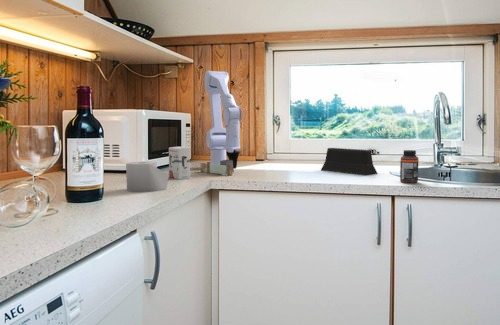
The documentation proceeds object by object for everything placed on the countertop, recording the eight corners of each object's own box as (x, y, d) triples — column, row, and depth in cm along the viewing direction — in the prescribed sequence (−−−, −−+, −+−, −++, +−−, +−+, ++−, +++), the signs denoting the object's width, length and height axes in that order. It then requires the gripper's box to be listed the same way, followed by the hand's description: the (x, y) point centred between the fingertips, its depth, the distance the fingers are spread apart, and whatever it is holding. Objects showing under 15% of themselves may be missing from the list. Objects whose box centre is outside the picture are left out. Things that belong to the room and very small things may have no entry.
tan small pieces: (200, 171, 182) (200, 161, 182) (202, 171, 183) (202, 161, 183) (229, 175, 170) (229, 164, 169) (232, 175, 171) (232, 164, 170)
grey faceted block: (216, 173, 176) (215, 161, 176) (227, 171, 180) (226, 159, 180) (222, 174, 174) (221, 162, 173) (233, 171, 177) (232, 160, 177)
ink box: (168, 177, 165) (167, 146, 164) (179, 176, 168) (179, 146, 167) (179, 179, 159) (178, 148, 157) (190, 178, 161) (190, 147, 160)
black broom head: (378, 174, 175) (378, 150, 174) (365, 176, 170) (365, 151, 169) (333, 169, 193) (333, 147, 192) (320, 170, 188) (320, 148, 187)
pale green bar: (209, 172, 178) (209, 163, 178) (213, 171, 179) (213, 163, 179) (224, 174, 170) (224, 165, 170) (227, 174, 171) (227, 165, 171)
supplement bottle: (403, 180, 155) (404, 149, 154) (420, 182, 151) (421, 150, 150) (397, 182, 150) (398, 150, 149) (414, 184, 146) (415, 151, 145)
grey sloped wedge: (172, 190, 135) (171, 163, 134) (128, 192, 129) (128, 164, 129) (165, 186, 143) (165, 160, 142) (125, 188, 138) (124, 162, 137)
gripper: (226, 135, 186) (226, 166, 187) (220, 136, 171) (221, 170, 172) (242, 135, 185) (242, 166, 186) (237, 136, 170) (238, 170, 172)
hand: (233, 168), depth 179 cm, fingers closed, pressing on grey faceted block
